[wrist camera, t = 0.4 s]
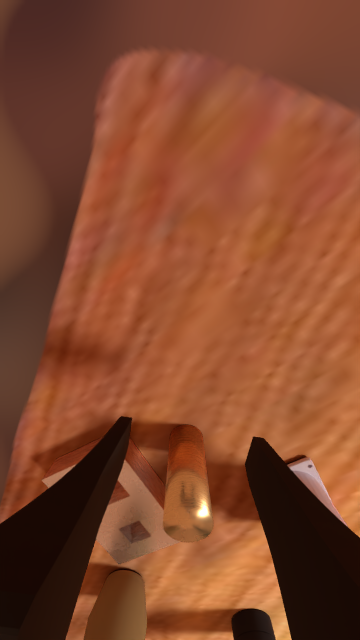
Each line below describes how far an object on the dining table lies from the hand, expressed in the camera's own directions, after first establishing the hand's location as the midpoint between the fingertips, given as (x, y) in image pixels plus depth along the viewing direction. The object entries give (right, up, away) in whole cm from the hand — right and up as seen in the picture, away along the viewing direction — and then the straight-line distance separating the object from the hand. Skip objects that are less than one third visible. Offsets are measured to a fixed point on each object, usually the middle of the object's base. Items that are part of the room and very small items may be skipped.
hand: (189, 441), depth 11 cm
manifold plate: (-8, -15, +14) cm, 22 cm away
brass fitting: (0, -7, +12) cm, 14 cm away
